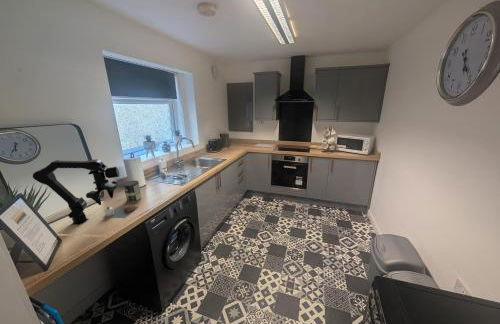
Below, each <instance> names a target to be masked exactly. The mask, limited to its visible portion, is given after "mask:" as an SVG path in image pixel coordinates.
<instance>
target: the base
mask: <svg viewBox="0 0 500 324" xmlns="http://www.w3.org/2000/svg"><path fill="white" fill-rule="evenodd" d="M122 207H123V209H124V212H131V211H133V212H135V211H136V210H137V209H136V208H135V207H136V205H135V204H133V203H130V204H126V205H125V206H122ZM135 209H136V210H135ZM134 210H135V211H134Z"/></svg>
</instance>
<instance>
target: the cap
mask: <svg viewBox="0 0 500 324" xmlns="http://www.w3.org/2000/svg"><path fill="white" fill-rule="evenodd" d="M113 210H114V209H113V206H107V207H105V208H104V213H105V215H106V217H110V216H113V215H114V211H113Z"/></svg>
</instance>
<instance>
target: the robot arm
mask: <svg viewBox="0 0 500 324" xmlns="http://www.w3.org/2000/svg"><path fill="white" fill-rule="evenodd" d="M57 169H85V170H88V171H89V172H88V173H87V174H88V175H92V176H93V179H94V181H93V184H94V185H95V188H94V190H91V191H89V192H87V193H86V194H85V197H86V199H92V200H93V201H94V202H95V203H96V204H98V205H99V206H101V205H102V201H101V197H102V195H101V193H102V192H104V191H106V192H107V194H108V195H109V198H110V199H113V197H114V192H115V190H116V189H117V188H118V186H119V184H118V181H117V180H114V181H109V179H112V178H119V177H120V170H119V169H118V167H117V166H112V167H108V166H107V165H106V164H105V163H103V161H102V160H101V159H98V158H96V159H90V160H57V159H56V160H54V161H51V162H50V163H49V164H47V166H45V167H44V168H39V169H38V170H36V171H35V172H33V174H32V178H33V180H35V181H37V182H38V183H40V184H42V185H46V186H47V187H49V188H50V189H51V190H52V191H53V192H55V193H56V195H58V196H59V197H60V198H61V199H62V200H64V201H65V203H67V205H68V208H69V209H70V212H69V214H68V215H67V216H68V218H70V219H72V223H71V224H70V225H74V226H75V225H77V226H80V225H82V224H84V223H86V222H87V221H88V220H89V218H87V216H86V213H85V212H84V211H85V209H86V208H87V206H88V203H87V200H85V199H84V198H83V197H82V196H81V197H80V198H79V197H77V196H75V195H74V194H73V193H72V192H71V191H70V190H68V188H66V187H65V186H64V185H63V184H62V183H61V182H60V181H58V179H57V177H56V175H55V173H54V171H56V170H57Z"/></svg>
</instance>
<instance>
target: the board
mask: <svg viewBox="0 0 500 324" xmlns="http://www.w3.org/2000/svg"><path fill="white" fill-rule="evenodd" d="M123 207H124V206H117V207H116V208H114V209H113V211H114V215H113V216H110V217H106V214H105V215H104V216H102V218H105V219H106V218H107V219H126V218H127V217H129V215H131V214H132V213H134V212H135V211H136V210H137V209H138V208H139V206H135V208H136V209H135V210H134V211H131V212H124V209H123Z"/></svg>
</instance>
